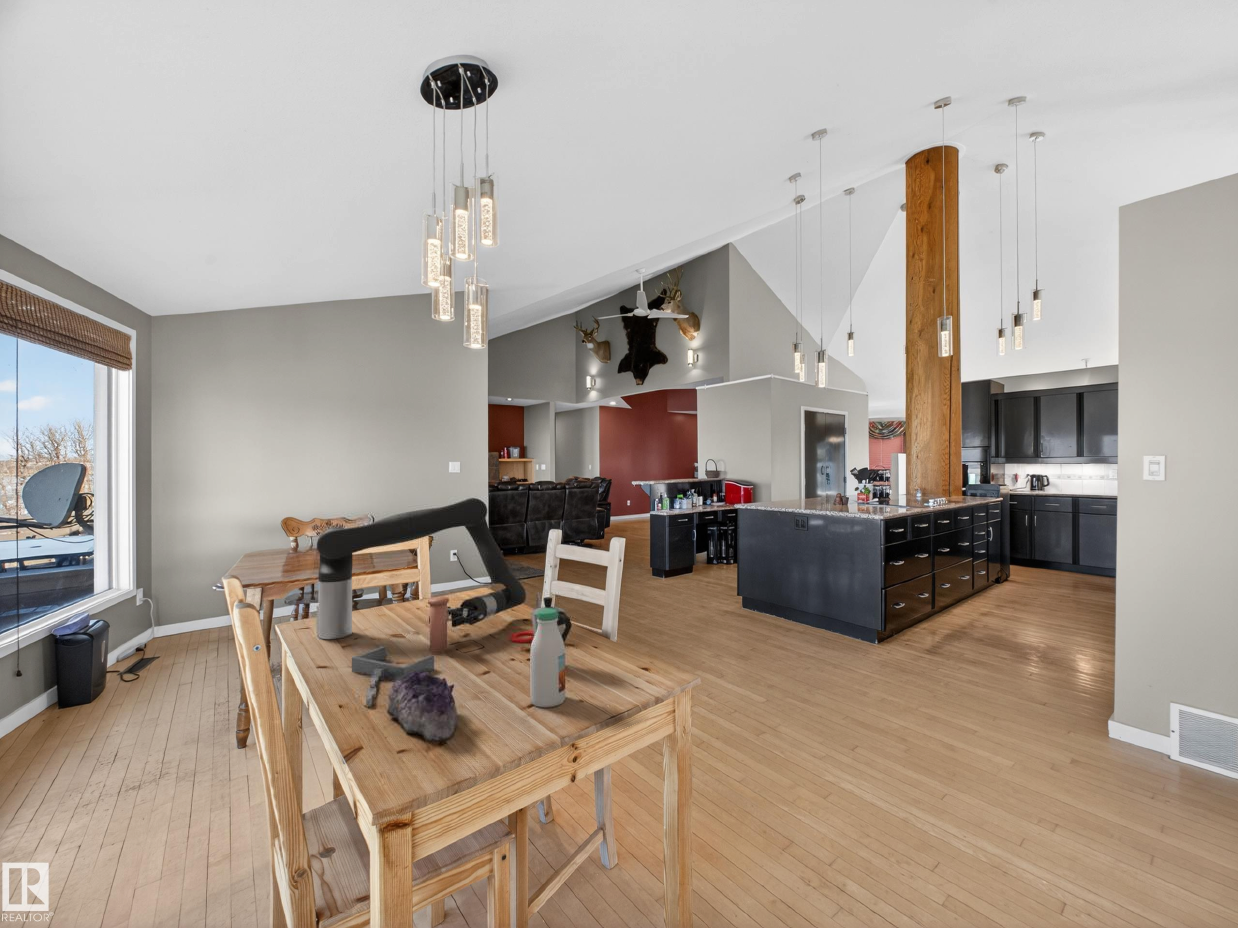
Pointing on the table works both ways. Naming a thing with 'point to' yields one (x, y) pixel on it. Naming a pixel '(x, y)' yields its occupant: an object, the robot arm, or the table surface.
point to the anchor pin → (438, 624)
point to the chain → (371, 690)
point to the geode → (424, 706)
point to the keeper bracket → (388, 665)
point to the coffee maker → (561, 620)
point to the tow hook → (521, 640)
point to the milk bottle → (547, 662)
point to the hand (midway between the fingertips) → (441, 621)
